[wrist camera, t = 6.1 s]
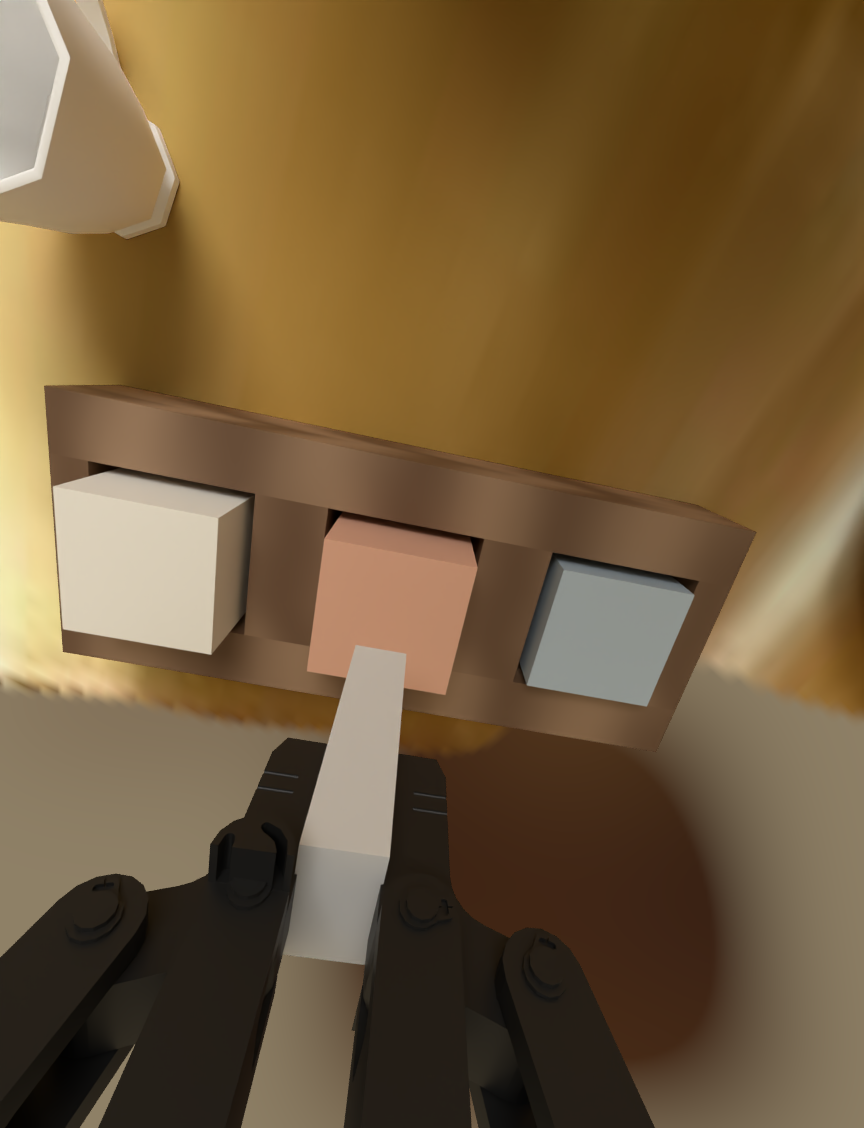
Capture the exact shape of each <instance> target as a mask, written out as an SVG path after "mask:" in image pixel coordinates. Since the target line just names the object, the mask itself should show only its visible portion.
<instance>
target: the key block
mask: <svg viewBox="0 0 864 1128" xmlns="http://www.w3.org/2000/svg"><path fill="white" fill-rule="evenodd" d="M44 389H45V403H46V417H47V431H48V446H49V460H50V474H51V488H52V503H53V517H54V531H55V545H56V559H57V574H58V588H59V602H60V616H61V631H62V645H63V652H67V653H73V654H79V655H85V656H91V657H97V658H102V659H108V660H114V661H120V662H126V663H132V664H138V665H144V666H150V667H156V668H162V669H167V670H173V671H179V672H185V673H191V674H197V675H203V676H209V677H215V678H221V679H227V680H233V681H238V682H244V683H250V684H256V685H262V686H268V687H274V688H280V689H286V690H292V691H298V692H303V693H309V694H315V695H321V696H327V697H333V698H339V699H340V698H341V695H342V691H343V688H344V684H345V681H346V678H343V677H338V676H332V675H326V674H320V673H314V672H308V671H307V665H308V658H309V650H310V643H311V635H312V628H313V620H314V613H315V605H316V598H317V590H318V583H319V575H320V568H321V560H322V553H323V545H324V538H325V537H326V535H327V534H328V533H329V531H330V530H331V528H332V527H333V525H334V524H335V522H336V521H337V519H338V518H339V517H340V515H341V514H342V512H343V511H345V512H351V513H356V514H361V515H366V516H371V517H376V518H381V519H386V520H391V521H396V522H401V523H406V524H412V525H417V526H422V527H427V528H432V529H437V530H442V531H447V532H452V533H457V534H462V535H467V536H470V539H471V543H472V547H473V551H474V555H475V559H476V563H477V567H478V569H477V573H476V577H475V580H474V584H473V588H472V592H471V596H470V600H469V604H468V608H467V612H466V616H465V620H464V624H463V628H462V632H461V636H460V639H459V643H458V647H457V651H456V655H455V659H454V663H453V667H452V671H451V675H450V679H449V683H448V687H447V691H446V695H442V694H436V693H430V692H425V691H419V690H413V689H407V688H404V690H403V702H402V709H404V710H410V711H416V712H422V713H428V714H434V715H439V716H445V717H451V718H457V719H463V720H469V721H475V722H481V723H487V724H493V725H499V726H505V727H510V728H516V729H522V730H528V731H534V732H540V733H546V734H552V735H558V736H564V737H570V738H575V739H582V740H587V741H593V742H599V743H605V744H611V745H617V746H623V747H629V748H635V749H641V750H646V751H653V752H656V751H657V749H658V747H659V744H660V742H661V740H662V738H663V736H664V733H665V731H666V729H667V727H668V725H669V722H670V720H671V718H672V716H673V714H674V712H675V709H676V707H677V705H678V703H679V701H680V698H681V696H682V694H683V692H684V690H685V687H686V685H687V683H688V681H689V678H690V676H691V674H692V672H693V670H694V668H695V666H696V663H697V661H698V659H699V657H700V655H701V652H702V650H703V648H704V646H705V644H706V642H707V639H708V637H709V635H710V633H711V631H712V628H713V626H714V624H715V622H716V620H717V617H718V615H719V613H720V611H721V609H722V606H723V604H724V602H725V600H726V598H727V596H728V593H729V591H730V589H731V587H732V585H733V582H734V580H735V578H736V576H737V574H738V571H739V569H740V567H741V565H742V563H743V561H744V558H745V556H746V554H747V552H748V550H749V547H750V545H751V543H752V541H753V539H754V536H755V534H756V532H755V531H752V530H750V529H748V528H746V527H744V526H742V525H739V524H737V523H735V522H733V521H731V520H729V519H726V518H724V517H722V516H720V515H718V514H716V513H713V512H711V511H709V510H707V509H705V508H703V507H700V506H698V505H694V504H689V503H685V502H680V501H675V500H670V499H665V498H661V497H656V496H651V495H646V494H641V493H637V492H632V491H627V490H622V489H617V488H613V487H608V486H603V485H598V484H593V483H589V482H584V481H579V480H574V479H569V478H565V477H560V476H555V475H550V474H545V473H541V472H536V471H531V470H526V469H521V468H517V467H512V466H507V465H502V464H497V463H493V462H488V461H483V460H478V459H473V458H469V457H464V456H459V455H454V454H449V453H445V452H440V451H435V450H430V449H425V448H421V447H416V446H411V445H406V444H401V443H397V442H392V441H387V440H382V439H377V438H373V437H368V436H363V435H358V434H353V433H349V432H344V431H339V430H334V429H329V428H325V427H320V426H315V425H310V424H305V423H301V422H296V421H291V420H286V419H281V418H277V417H272V416H267V415H262V414H257V413H253V412H248V411H243V410H238V409H233V408H229V407H224V406H219V405H214V404H209V403H205V402H200V401H195V400H190V399H185V398H181V397H176V396H171V395H166V394H161V393H157V392H152V391H147V390H142V389H137V388H133V387H128V386H123V385H59V386H44ZM118 468H127V469H132V470H137V471H142V472H147V473H152V474H157V475H162V476H167V477H173V478H178V479H183V480H188V481H193V482H198V483H203V484H208V485H213V486H218V487H223V488H228V489H234V490H239V491H244V492H249V493H254V494H255V503H254V516H253V529H252V542H251V554H250V567H249V580H248V593H247V606H246V612H245V614H244V615H243V616H242V617H241V619H240V620H239V621H238V622H237V624H236V625H235V626H234V627H233V629H232V630H231V631H230V632H229V633H228V635H227V636H226V637H225V638H224V640H223V641H222V642H221V643H220V645H219V646H218V647H217V648H216V650H215V651H214V652H213V653H212V654H211V655H210V654H204V653H198V652H192V651H187V650H181V649H175V648H169V647H163V646H158V645H152V644H146V643H140V642H134V641H129V640H123V639H117V638H111V637H105V636H100V635H94V634H88V633H82V632H76V631H71V630H65V629H63V626H62V611H61V597H60V583H59V568H58V554H57V539H56V525H55V510H54V496H53V486H56V485H60V484H63V483H67V482H71V481H74V480H78V479H82V478H85V477H89V476H93V475H96V474H100V473H103V472H107V471H111V470H114V469H118ZM553 552H554V553H559V554H564V555H569V556H574V557H579V558H584V559H590V560H595V561H600V562H605V563H610V564H615V565H620V566H625V567H630V568H635V569H640V570H645V571H651V572H656V573H661V574H666V575H670V576H672V577H673V578H674V579H675V580H677V581H678V582H679V583H680V584H682V585H683V586H684V587H685V588H687V589H688V590H689V591H690V592H691V593H693V594H694V595H695V596H694V598H693V601H692V603H691V605H690V607H689V610H688V612H687V614H686V617H685V619H684V621H683V624H682V626H681V628H680V631H679V633H678V635H677V638H676V640H675V642H674V645H673V647H672V649H671V652H670V654H669V656H668V659H667V661H666V663H665V666H664V668H663V670H662V672H661V675H660V677H659V679H658V682H657V684H656V686H655V689H654V691H653V693H652V696H651V698H650V700H649V703H648V705H647V706H641V705H635V704H629V703H624V702H618V701H612V700H607V699H601V698H595V697H590V696H584V695H578V694H573V693H567V692H561V691H556V690H550V689H544V688H538V687H533V686H527V685H526V681H525V678H524V675H523V672H522V669H521V666H520V662H519V660H520V657H521V654H522V650H523V647H524V644H525V641H526V637H527V634H528V631H529V628H530V624H531V621H532V618H533V615H534V612H535V608H536V605H537V602H538V599H539V595H540V592H541V589H542V586H543V582H544V579H545V576H546V573H547V569H548V566H549V563H550V560H551V556H552V553H553Z"/></svg>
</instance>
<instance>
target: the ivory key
mask: <svg viewBox="0 0 864 1128" xmlns="http://www.w3.org/2000/svg"><path fill="white" fill-rule="evenodd" d="M53 496H54V510H55V525H56V539H57V554H58V568H59V583H60V597H61V611H62V626H63V629H65V630H71V631H76V632H82V633H88V634H94V635H100V636H105V637H111V638H117V639H123V640H129V641H134V642H140V643H146V644H152V645H158V646H163V647H169V648H175V649H181V650H187V651H192V652H198V653H204V654H210V655H211V654H212V653H213V652H214V651H215V650H216V648H217V647H218V646H219V645H220V643H221V642H222V641H223V640H224V638H225V637H226V636H227V635H228V633H229V632H230V631H231V630H232V629H233V627H234V626H235V625H236V624H237V622H238V621H239V620H240V619H241V617H242V616H243V615H244V614H245V612H246V606H247V593H248V580H249V567H250V554H251V542H252V529H253V516H254V503H255V494H254V493H249V492H244V491H239V490H234V489H228V488H223V487H218V486H213V485H208V484H203V483H198V482H193V481H188V480H183V479H178V478H173V477H167V476H162V475H157V474H152V473H147V472H142V471H137V470H132V469H127V468H118V469H114V470H111V471H107V472H103V473H100V474H96V475H93V476H89V477H85V478H82V479H78V480H74V481H71V482H67V483H63V484H60V485H56V486H53Z"/></svg>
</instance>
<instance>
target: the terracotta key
mask: <svg viewBox="0 0 864 1128" xmlns="http://www.w3.org/2000/svg"><path fill="white" fill-rule="evenodd" d="M477 569H478V567H477V563H476V559H475V555H474V551H473V547H472V543H471V539H470V536H467V535H462V534H457V533H452V532H447V531H442V530H437V529H432V528H427V527H422V526H417V525H412V524H406V523H401V522H396V521H391V520H386V519H381V518H376V517H371V516H366V515H361V514H356V513H351V512H345V511H343V512H342V514H341V515H340V517H339V518H338V519H337V521H336V522H335V524H334V525H333V527H332V528H331V530H330V531H329V533H328V534H327V535H326V537H325V538H324V545H323V553H322V560H321V568H320V575H319V583H318V590H317V598H316V605H315V613H314V620H313V628H312V635H311V643H310V650H309V658H308V665H307V671H308V672H314V673H320V674H326V675H332V676H338V677H343V678H346V677H347V674H348V670H349V667H350V663H351V660H352V656H353V653H354V649H355V646H356V645H359V646H365V647H370V648H376V649H382V650H388V651H393V652H399V653H405V654H406V666H405V678H404V688H407V689H413V690H419V691H425V692H430V693H436V694H442V695H446V691H447V687H448V683H449V679H450V675H451V671H452V667H453V663H454V659H455V655H456V651H457V647H458V643H459V639H460V636H461V632H462V628H463V624H464V620H465V616H466V612H467V608H468V604H469V600H470V596H471V592H472V588H473V584H474V580H475V577H476V573H477Z"/></svg>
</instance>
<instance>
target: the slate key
mask: <svg viewBox="0 0 864 1128" xmlns="http://www.w3.org/2000/svg"><path fill="white" fill-rule="evenodd" d="M694 596H695V595H694V594H693V593H691V592H690V591H689V590H688V589H687V588H685V587H684V586H683V585H682V584H680V583H679V582H678V581H677V580H675V579H674V578H673V577H672V576H670V575H666V574H661V573H656V572H651V571H645V570H640V569H635V568H630V567H625V566H620V565H615V564H610V563H605V562H600V561H595V560H590V559H584V558H579V557H574V556H569V555H564V554H559V553H554V552H553V553H552V556H551V560H550V563H549V566H548V569H547V573H546V576H545V579H544V582H543V586H542V589H541V592H540V595H539V599H538V602H537V605H536V608H535V612H534V615H533V618H532V621H531V624H530V628H529V631H528V634H527V637H526V641H525V644H524V647H523V650H522V654H521V657H520V660H519V662H520V666H521V669H522V672H523V675H524V678H525V681H526V685H527V686H533V687H538V688H544V689H550V690H556V691H561V692H567V693H573V694H578V695H584V696H590V697H595V698H601V699H607V700H612V701H618V702H624V703H629V704H635V705H641V706H647V705H648V703H649V700H650V698H651V696H652V693H653V691H654V689H655V686H656V684H657V682H658V679H659V677H660V675H661V672H662V670H663V668H664V666H665V663H666V661H667V659H668V656H669V654H670V652H671V649H672V647H673V645H674V642H675V640H676V638H677V635H678V633H679V631H680V628H681V626H682V624H683V621H684V619H685V617H686V614H687V612H688V610H689V607H690V605H691V603H692V601H693V598H694Z"/></svg>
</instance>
